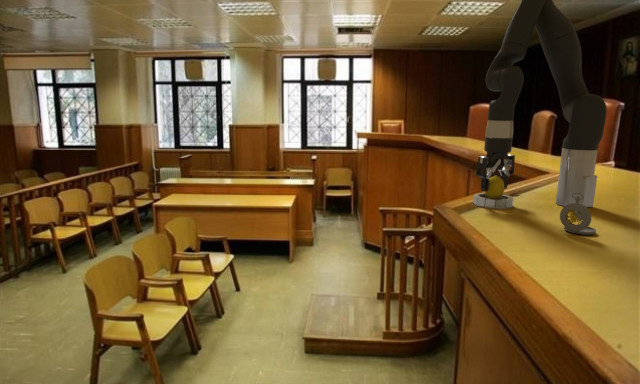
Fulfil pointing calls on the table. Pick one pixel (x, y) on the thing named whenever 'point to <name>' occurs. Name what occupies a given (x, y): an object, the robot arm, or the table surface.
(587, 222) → the pocket watch
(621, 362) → the table surface
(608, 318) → the table surface
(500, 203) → the grey stone ring
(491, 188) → the lemon
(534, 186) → the table surface
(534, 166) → the table surface
